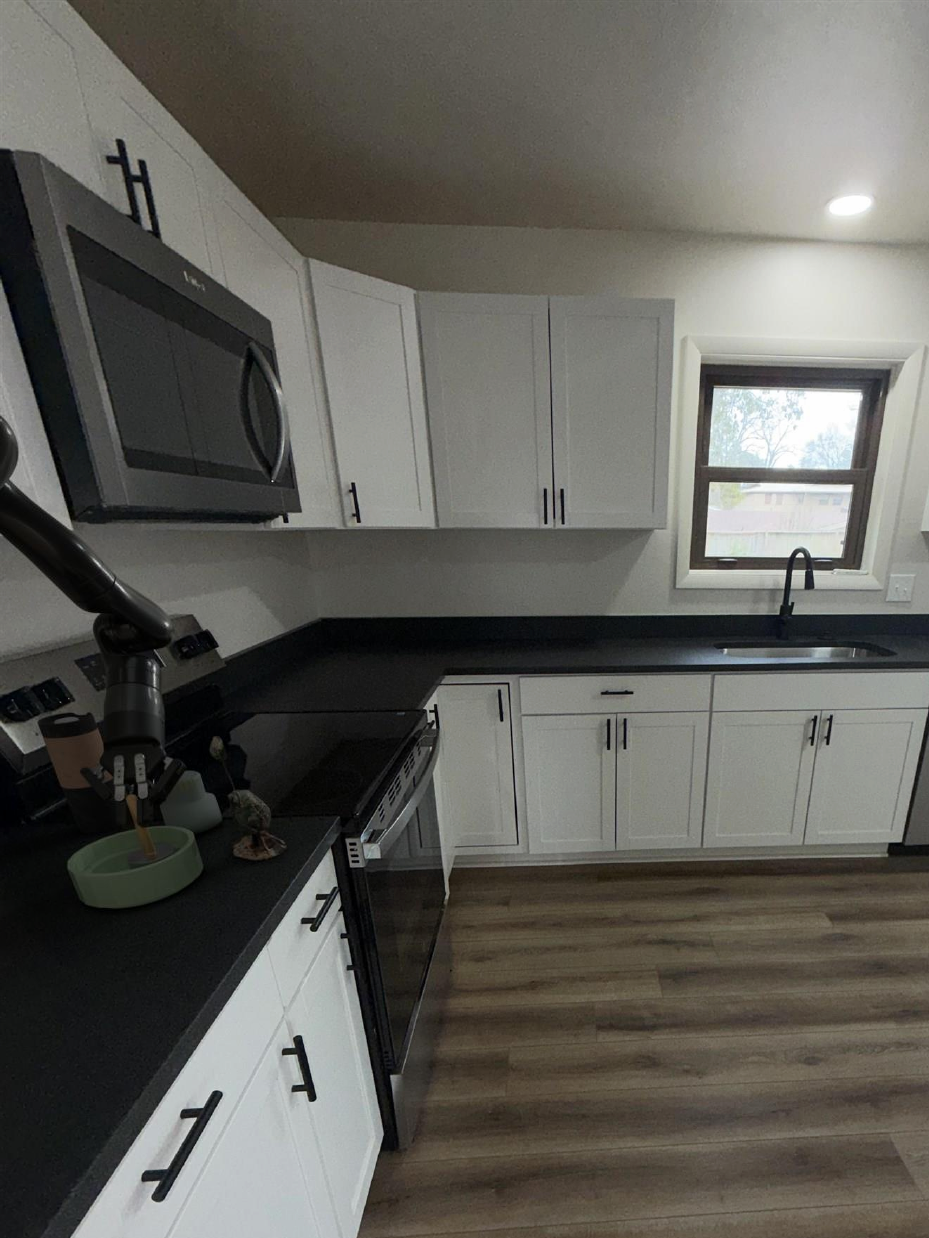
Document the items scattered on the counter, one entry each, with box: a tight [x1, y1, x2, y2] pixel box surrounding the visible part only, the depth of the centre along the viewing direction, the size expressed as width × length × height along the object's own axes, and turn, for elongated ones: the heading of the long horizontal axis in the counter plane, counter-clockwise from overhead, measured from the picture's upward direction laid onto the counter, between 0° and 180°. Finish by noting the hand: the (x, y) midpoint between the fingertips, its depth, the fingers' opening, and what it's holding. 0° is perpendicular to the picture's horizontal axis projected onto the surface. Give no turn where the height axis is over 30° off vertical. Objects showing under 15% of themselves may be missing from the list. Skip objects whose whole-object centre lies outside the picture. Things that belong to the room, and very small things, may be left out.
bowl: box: [66, 825, 204, 909], centre depth 97 cm, size 16×16×6 cm
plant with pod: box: [209, 735, 288, 862], centre depth 103 cm, size 8×11×20 cm
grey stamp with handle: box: [126, 793, 175, 870], centre depth 96 cm, size 6×6×12 cm
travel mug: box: [37, 711, 122, 834], centre depth 113 cm, size 8×8×20 cm
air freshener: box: [159, 770, 223, 835], centre depth 113 cm, size 11×8×10 cm
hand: (134, 826), depth 93 cm, fingers closed on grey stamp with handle, 1 cm apart
